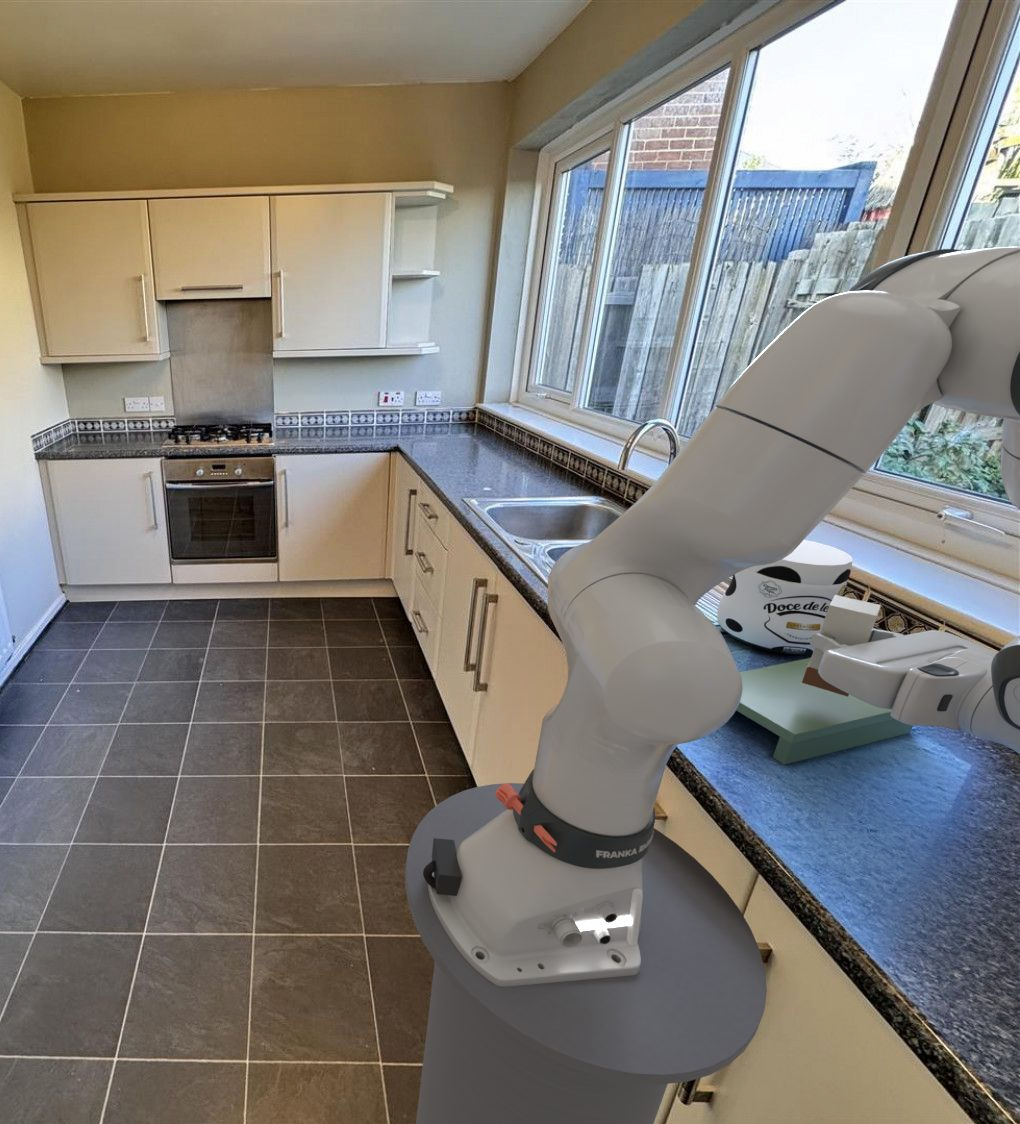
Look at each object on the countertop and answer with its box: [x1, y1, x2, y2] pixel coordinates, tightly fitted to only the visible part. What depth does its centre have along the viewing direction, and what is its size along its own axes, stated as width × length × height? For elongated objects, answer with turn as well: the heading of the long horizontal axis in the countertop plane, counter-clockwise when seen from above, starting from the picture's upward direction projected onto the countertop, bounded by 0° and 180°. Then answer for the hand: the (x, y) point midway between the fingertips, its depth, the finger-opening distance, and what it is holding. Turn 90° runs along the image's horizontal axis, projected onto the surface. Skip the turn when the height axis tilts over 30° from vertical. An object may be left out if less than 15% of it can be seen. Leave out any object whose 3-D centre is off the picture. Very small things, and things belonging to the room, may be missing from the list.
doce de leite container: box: [716, 539, 853, 656], centre depth 112 cm, size 17×17×18 cm
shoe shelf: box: [735, 657, 914, 766], centre depth 92 cm, size 24×14×5 cm, turn 105°
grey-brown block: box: [802, 595, 882, 697], centre depth 84 cm, size 10×5×12 cm, turn 133°
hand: (835, 634), depth 82 cm, fingers closed on grey-brown block, 6 cm apart
